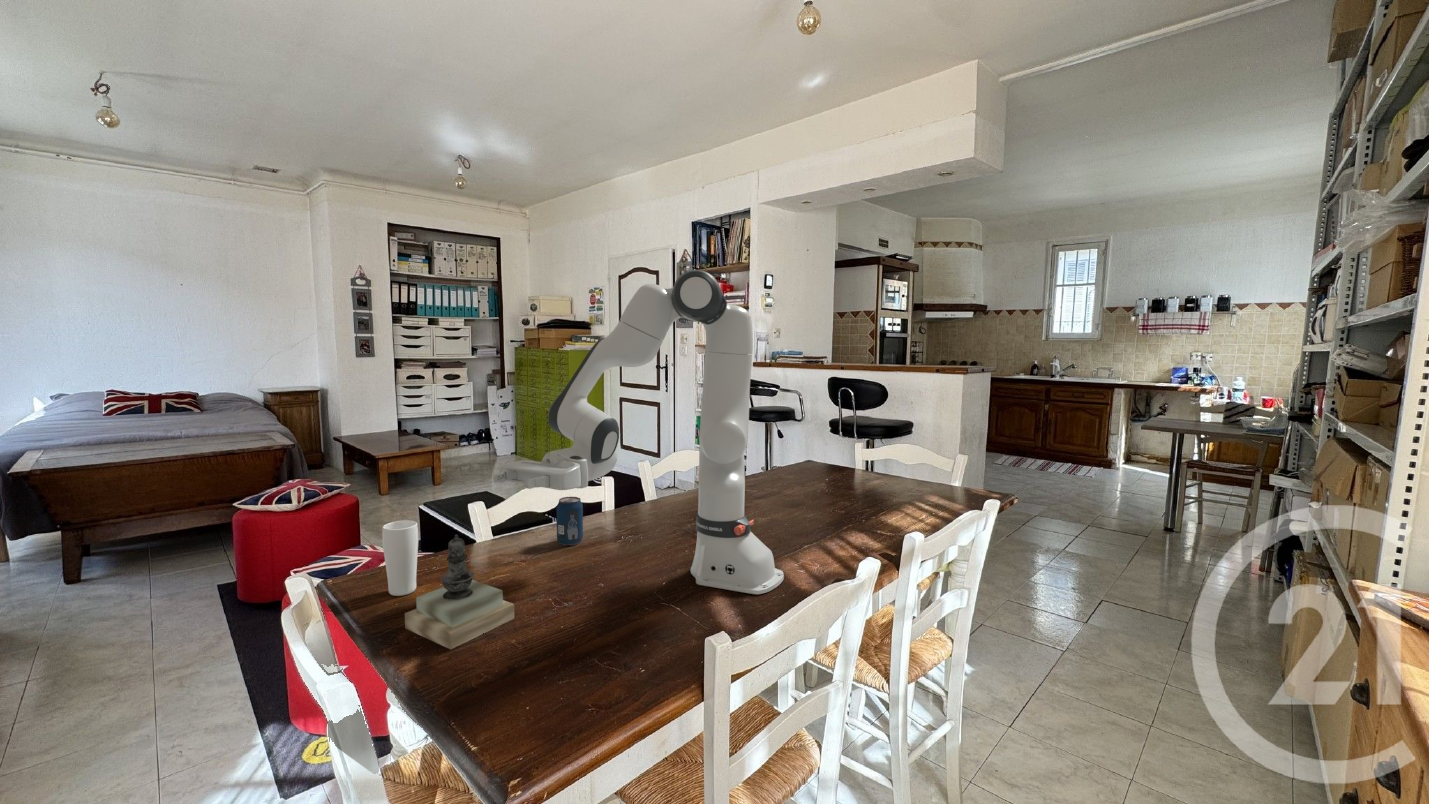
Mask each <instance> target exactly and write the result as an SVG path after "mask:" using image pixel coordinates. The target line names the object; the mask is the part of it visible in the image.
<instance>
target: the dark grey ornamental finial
mask: <svg viewBox="0 0 1429 804" xmlns="http://www.w3.org/2000/svg"><path fill="white" fill-rule="evenodd" d="M453 537H454V538H452V539H450V540H449V542H448V543H447V545H448V546H447V547H448V550H447V551H448V556H446V561H447V562H448V563H447V564H448V568H447V573H445V574H443V575H442V576H441V577H440V582H442V587H444V588H445V589H447V590H448V591H447V592H445V593H444V594H443V598H444V599H446V600H461V599H464V598H467V597H469V596H471V595H472V593H473V591H472V590H471V589H469V588H468V587H469V586H470V584H471V582H472V580H473V578H474V577H475V576H474V575H475V573H474V572H473V571H470V570H467V567H466V565H467V564H466V560H467V558H468V555H467V554H466V549H465V548H466V547H465V544H466V543H465V540H464V539H463V538H460V537H459V535H458V534H455V535H454V536H453Z"/></svg>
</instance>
